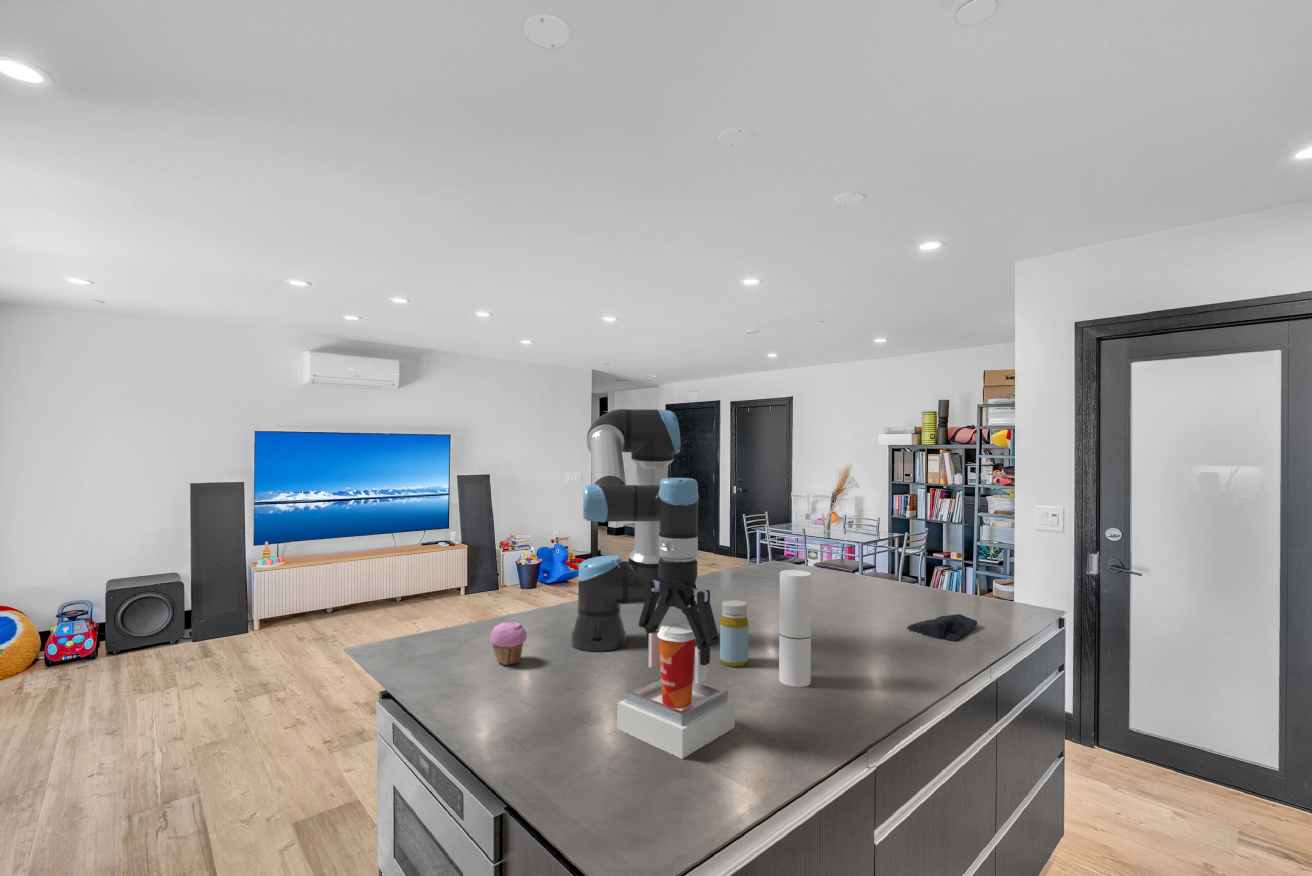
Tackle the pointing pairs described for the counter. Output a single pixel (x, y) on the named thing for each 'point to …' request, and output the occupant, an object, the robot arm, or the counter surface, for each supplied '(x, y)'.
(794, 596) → the cylindrical container
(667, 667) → the paper cup
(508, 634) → the cupcake
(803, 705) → the counter surface
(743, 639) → the bottle
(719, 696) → the square tray
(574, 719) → the counter surface
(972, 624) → the crumpled black cloth
